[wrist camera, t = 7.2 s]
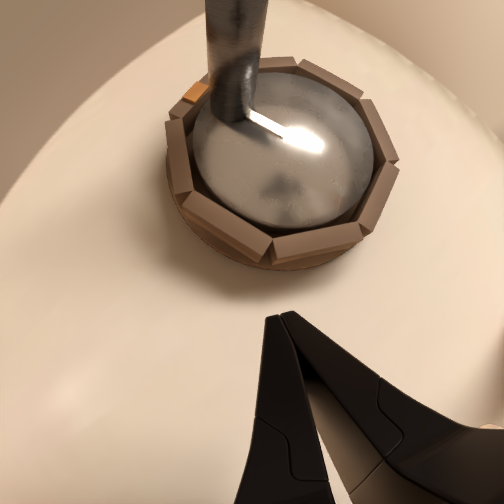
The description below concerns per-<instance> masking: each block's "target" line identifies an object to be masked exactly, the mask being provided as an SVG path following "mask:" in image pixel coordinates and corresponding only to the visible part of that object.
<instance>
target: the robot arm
mask: <svg viewBox="0 0 504 504" xmlns="http://www.w3.org/2000/svg"><path fill="white" fill-rule="evenodd" d="M316 428H317V429H316ZM317 430H318V432H319V434H320V436H321V438H322V441H323V443H324V445H325V447H326V449H327V451H328V453H329V455H330V457H331V460H332V462H333V464H334V466H335V468H336V470H337V472H338V474H339V476H340V478H341V480H342V482H343V484H344V487H345V489H346V491H347V493H348V495H349V497H350V499H351V501H352V503H353V504H504V429H486V428H473V427H468V426H465V425H462V424H459V423H457V422H455V421H453V420H451V419H449V418H447V417H445V416H443V415H442V414H440V413H438V412H436V411H434V410H432V409H431V408H429V407H427V406H425V405H423V404H421V403H420V402H418V401H416V400H415V399H413V398H411V397H410V396H408V395H406V394H405V393H403V392H402V391H400V390H399V389H397V388H396V387H395V386H393V385H392V384H390V383H389V382H388V381H386V380H385V379H384V378H382V377H381V378H380V376H379V375H378V374H377V373H375V372H374V371H373V370H371V369H370V368H369V367H367V366H366V365H365V364H363V363H362V362H361V361H359V360H358V359H357V358H355V357H354V356H353V355H351V354H350V353H349V352H347V351H346V350H345V349H343V348H342V347H341V346H339V345H338V344H337V343H335V342H334V341H333V340H331V339H330V338H329V337H328V336H326V335H325V334H324V333H322V332H321V331H320V330H318V329H317V328H316V327H314V326H313V325H312V324H311V323H309V322H308V321H307V320H305V319H304V318H303V317H301V316H300V315H299V314H298V313H296V312H295V311H289V312H285V313H281V314H280V315H278V314H277V315H273V316H269V317H266V318H265V326H264V336H263V345H262V355H261V364H260V373H259V382H258V391H257V400H256V409H255V418H254V425H253V432H252V439H251V445H250V450H249V454H248V458H247V462H246V465H245V469H244V472H243V475H242V479H241V482H240V485H239V489H238V492H237V495H236V498H235V501H234V504H336V503H335V500H334V497H333V494H332V491H331V487H330V483H329V482H328V481H329V478H328V474H327V470H326V466H325V462H324V458H323V454H322V450H321V446H320V441H319V437H318V433H317Z"/></svg>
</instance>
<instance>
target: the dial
mask: <svg viewBox="0 0 504 504" xmlns="http://www.w3.org/2000/svg"><path fill="white" fill-rule="evenodd" d="M267 7H268V0H205V12H206V37H207V59H208V77H209V94H210V98H209V99H208V100H207V102H206V103H205V104H204V106H203V107H202V109H201V110H200V112H199V114H198V117H197V119H196V122H195V126H194V130H193V151H194V156H195V162H196V166H197V170H198V174H199V177H200V179H201V182H202V184H203V186H204V188H205V189H206V191H207V193H208V194H209V196H210V197H211V198H212V199H213V201H214V202H215V203H216V204H218V205H220V206H221V207H223V208H224V209H226V210H228V211H229V212H231V213H233V214H234V215H236V216H237V217H239V218H241V219H242V220H244V221H246V222H247V223H249V224H250V225H252V226H254V227H255V228H257V229H258V230H261V231H265V232H269V233H277V234H297V233H302V232H307V231H312V230H317V229H320V228H322V227H325V226H327V225H329V224H331V223H332V222H334V221H335V220H337V219H338V218H339V217H341V216H342V215H343V214H344V213H345V212H346V211H347V210H349V209H350V208H351V207H352V206H353V205H354V204H355V203H356V202H357V201H358V200H359V198H360V197H361V196H362V195H363V193H364V191H365V190H366V188H367V186H368V184H369V181H370V179H371V175H372V170H373V161H374V157H373V147H372V143H371V139H370V136H369V133H368V131H367V129H366V127H365V125H364V123H363V121H362V119H361V118H360V116H359V115H358V114H357V112H356V111H355V110H354V109H353V108H352V106H351V105H350V104H349V103H348V102H347V101H346V100H345V99H343V98H342V97H341V96H340V95H338V94H337V93H336V92H334V91H333V90H331V89H330V88H328V87H326V86H325V85H323V84H321V83H318V82H316V81H314V80H311V79H309V78H306V77H302V76H298V75H294V74H288V73H277V72H272V73H259V74H258V69H259V62H260V55H261V48H262V41H263V34H264V27H265V20H266V13H267Z"/></svg>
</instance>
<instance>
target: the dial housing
mask: <svg viewBox="0 0 504 504" xmlns="http://www.w3.org/2000/svg"><path fill="white" fill-rule="evenodd" d="M272 72H277V73H288V74H294V75H298V76H302V77H306V78H309V79H311V80H314V81H316V82H318V83H321V84H323V85H325V86H326V87H328V88H330V89H331V90H333V91H334V92H336V93H337V94H338V95H340V96H341V97H342V98H343V99H345V100H346V101H347V102H348V103H349V104H350V105H351V106H352V108H353V109H354V110H355V111H356V112H357V114H358V115H359V116H360V118H361V119H362V121H363V123H364V125H365V127H366V129H367V131H368V133H369V136H370V139H371V143H372V147H373V157H374V161H373V170H372V175H371V179H370V181H369V184H368V186H367V188H366V190H365V191H364V193H363V195H362V196H361V197H360V198H359V200H358V201H357V202H356V203H355V204H354V205H353V206H352V207H351V208H350V209H349V210H347V211H346V212H345V213H344V214H343V215H342V216H341V217H339V218H338V219H337V220H335V221H334V222H332V223H331V224H329V225H327V226H325V227H322V228H320V229H317V230H312V231H307V232H302V233H297V234H277V233H269V232H265V231H261V230H258V229H257V228H255V227H254V226H252V225H250V224H249V223H247V222H246V221H244V220H242V219H241V218H239V217H237V216H236V215H234V214H233V213H231V212H229V211H228V210H226V209H224V208H223V207H221V206H220V205H218V204H216V203H215V202H214V201H213V199H212V198H211V197H210V196H209V194H208V193H207V191H206V189H205V188H204V186H203V184H202V182H201V179H200V177H199V174H198V170H197V166H196V162H195V156H194V151H193V130H194V126H195V122H196V119H197V117H198V114H199V112H200V110H201V109H202V107H203V106H204V104H205V103H206V102H207V100H208V99H209V98H210V94H209V77H208V73H207V74H206V75H205V76H204V77H203V78H202V79H201V80H200V81H199V82H198V81H197V82H196V83H195V84H194V85H193V86H192V87H191V88H190V89H189V90H188V91H187V92H186V93H185V94H184V96H183V97H182V98H181V99H180V100H179V102H178V103H177V104H176V105H175V106H174V107H173V108H172V109H171V110H170V111H169V116H170V121H166V122H165V129H166V137H167V145H168V148H167V157H166V169H167V178H168V183H169V187H170V190H171V193H172V195H173V198H174V201H175V203H176V205H177V207H178V209H179V211H180V213H181V214H182V216H183V218H184V219H185V221H186V222H187V223H188V225H189V226H190V227H191V228H192V230H193V231H194V232H195V233H196V234H197V235H198V236H199V237H200V238H201V239H202V240H203V241H204V242H206V243H207V244H208V245H210V246H211V247H212V248H214V249H215V250H216V251H218V252H220V253H222V254H223V255H225V256H227V257H229V258H231V259H233V260H235V261H238V262H241V263H243V264H246V265H249V266H253V267H257V268H261V269H269V270H278V271H280V270H299V269H305V268H310V267H314V266H317V265H320V264H323V263H326V262H328V261H330V260H332V259H334V258H336V257H338V256H340V255H342V254H343V253H345V252H346V251H347V250H349V249H350V248H352V247H353V246H354V245H356V244H357V243H358V242H360V241H362V240H363V237H365V236H367V235H368V234H370V233H372V232H373V230H374V228H375V226H376V223H377V221H378V219H379V217H380V215H381V212H382V210H383V208H384V206H385V203H386V201H387V199H388V197H389V194H390V192H391V190H392V187H393V185H394V183H395V180H396V178H397V175H398V173H399V169H398V168H397V167H395V166H394V164H395V163H396V162H397V161H398V160H399V158H398V155H397V153H396V151H395V148H394V146H393V144H392V142H391V139H390V137H389V135H388V133H387V131H386V128H385V126H384V124H383V122H382V120H381V118H380V116H379V114H378V112H377V110H376V108H375V106H374V104H373V102H372V100H371V99H360V98H361V96H362V94H363V93H364V92H363V91H362V90H360V89H358V88H357V87H355V86H353V85H351V84H350V83H348V82H346V81H345V80H343V79H341V78H339V77H337V76H336V75H334V74H332V73H330V72H328V71H326V70H325V69H323V68H321V67H319V66H317V65H315V64H313V63H311V62H309V61H307V60H305V59H303V60H302V61H301V62H300V63H299V64H298V65H297V64H296V62H295V60H294V58H293V57H272V58H260V62H259V69H258V74H259V73H272Z"/></svg>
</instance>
